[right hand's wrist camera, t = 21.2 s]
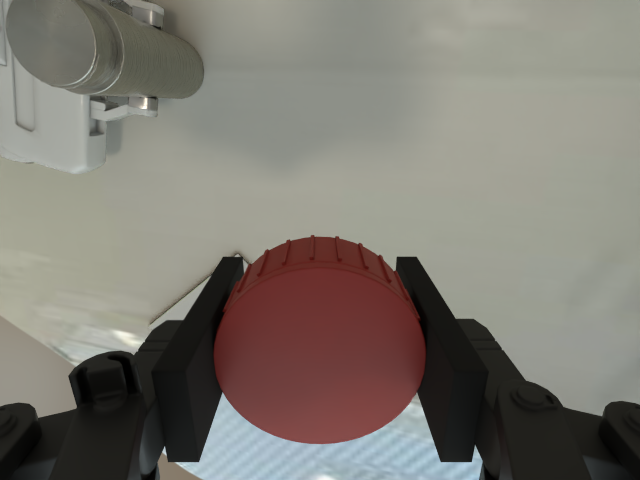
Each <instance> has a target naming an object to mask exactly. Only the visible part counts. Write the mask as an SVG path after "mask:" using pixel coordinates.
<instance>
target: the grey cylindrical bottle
mask: <svg viewBox="0 0 640 480" xmlns="http://www.w3.org/2000/svg"><path fill="white" fill-rule="evenodd" d="M6 34H7V39H8V42H9V45H10V48H11V50H12V52H13V54H14V55H15V57H16V58H17V60H18V61H19V63H20V64H21V65H22V66H23V67H24V68H25V69H26V70H27V71H28V72H29V73H30V74H31V75H33V76H34V77H36V78H37V79H39V80H40V81H41V82H44V83H46V84H48V85H50V86H52V87H57V88H62V89H65V90H67V91H70V92H72V93H76V94H81V95H97V96H123V97H150V98H175V99H182V98H187V97H189V96H191V95H193V94H194V93H195V92H196V91H197V90H198V89H199V87H200V86H201V84H202V81H203V76H204V69H203V63H202V60H201V58H200V56H199V54H198V52H197V51H196V50H195V48H194V47H193V46H191V45H190V44H189V43H187V42H186V41H184V40H182V39H180V38H178V37H175V36H173V35H171V34H169V33H167V32H165V31H163V30H161V29H159V28H156V27H154V26H152V25H150V24H148V23H146V22H144V21H142V20H139V19H137V18H135V17H133V16H131V15H129V14H127V13H125V12H123V11H120V10H118V9H116V8H114V7H112V6H110V5H108V4H106V3H103V2H101V1H99V0H13V1H12V2H11V4H10V6H9V8H8V11H7V15H6Z"/></svg>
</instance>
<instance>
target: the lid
mask: <svg viewBox="0 0 640 480" xmlns="http://www.w3.org/2000/svg"><path fill="white" fill-rule="evenodd" d="M223 312H225V313H224V315H223V317H222V320H221V322H220V324H219V326H218V328H217V334H216V338H215V341H214V350H213V356H214V365H215V372H216V377H217V380H218V382H219V385H220V388H221V390H222V391H223V393H224V395H225V397H226V398H227V400H228V401H229V402H230V404H231V405H232V406H233V407H234V409H235V410H236V411H237V412H238V413H239V414H240V415H241V416H243V417H244V418H245V419H246V420H248V421H249V422H250V423H251V424H253V425H255V426H256V427H258V428H260V429H261V430H263V431H265V432H267V433H270V434H272V435H274V436H277V437H280V438H283V439H286V440H291V441H295V442H301V443H309V444H330V443H339V442H345V441H349V440H353V439H357V438H360V437H363V436H365V435H368V434H370V433H372V432H374V431H376V430H378V429H380V428H382V427H383V426H385V425H386V424H388V423H389V422H391V421H392V420H393V419H395V418H396V417H397V416H398V415H399V414H400V413H401V412H402V411H403V410H404V409H405V408H406V407H407V406H408V405H409V403H410V402H411V400H412V399H413V397H414V396H415V395H416V393H417V391H418V389H419V387H420V385H421V382H422V379H423V376H424V370H425V362H426V344H425V338H424V335H423V332H422V329H421V326H420V324H419V321H421V319H420V317H419V315H418V313H417V310H416V308H415V306H414V304H413V302H412V300H411V298H410V295H409V293H408V291H407V289H405V288H404V285H403V283H402V281H401V279H400V277H399V275H398V272H397V271H396V270H395V271H393V270H392V269H391V268H390V266H389V265H388V264H387V263H386V262H385V261H384V260H383V257H382V256H381V255H379V256H378V255H376V254H375V253H373V252H372V251H370V250H368V249H367V248H365V247H363V245H362V244H361V243H359V244H356V243H353V242H350V241H347V240H343V239H339V237H338V236H336V237H335V238H332V237H314V235H311V237H309V238H302V239H297V240H292V241H290V239H289V240H287V241H286V243H284V244H281V245H279V246H277V247H275V248H273V249H271V250H268V249H267V250H266V251H265V253H264V255H262V256H261V257H259V258H258V259H257V260H256V261H255V262H254V263H253V264H252V265H251V264H249V265H248V266H247V268H246V271H245V273H244V275H243V277H242V278H241V280H240V281H239V282H238V281H237V282H236V284H235V286H234V288H233V290H232V292H231V294H230V297H229V299H228V301H227V303H226V305H225V307H224V309H223Z"/></svg>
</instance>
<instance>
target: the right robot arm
mask: <svg viewBox="0 0 640 480" xmlns="http://www.w3.org/2000/svg"><path fill="white" fill-rule="evenodd" d="M396 271H397V272H398V275H399V277H400V279H401V281H402V283H403V285H404V288H405V289H407V291H408V293H409V295H410V298H411V300H412V302H413V304H414V306H415V308H416V310H417V313H418V315H419V317H420V319H421V321H419V324H420V326H421V329H422V332H423V335H424V338H425V344H426V362H425V370H424V376H423V379H422V382H421V385H420V387H419V389H418V391H417V393H418V396H419V399H420V402H421V405H422V408H423V411H424V414H425V417H426V420H427V422H428V425H429V428H430V431H431V434H432V437H433V440H434V443H435V446H436V449H437V452H438V455H439V458H440V461H441V462H472V458H473V452H474V447H475V445H476V447H477V450H478V452H479V454H480V456H481V458H482V460H483V463H482V468H481V473H480V478H479V480H640V405H639V404H636V403H630V402H624V401H617V402H611V403H610V404H608V405H607V406H606V407H605V409H604V412H603V415H602V416H598V415H593V414H589V413H585V412H580V411H576V410H572V409H568V408H565V407H563V406H562V404H561V403H560V401H559V400H558V398H557V397H556V396H555V395H553V394H552V393H551V392H550V391H549V390H547V389H545V388H543V387H541V386H540V385H538V384H535V383H532V382H529V381H526V380H525V379H524V377H523V376H522V375H521V373H520V372H519V371H518V369H517V368H516V367H515V365H514V364H513V363H512V361H511V360H510V359H509V357H508V356H507V355H506V353H505V352H504V351H503V350H502V348H501V347H500V345H499V344H498V343H497V341H495V338H494V337H493V336H492V334H491V333H490V332H489V330H488V329H487V328H486V327H484V326H483V325H481V324H480V323H479V322H477V321H476V320H474V319H455V317H454V315H453V314H452V312H451V311H450V309H449V307H448V306H447V304H446V303H445V301H444V300H443V298H442V296H441V295H440V293H439V292H438V290H437V288H436V287H435V285H434V284H433V282H432V281H431V279H430V277H429V276H428V274H427V273H426V271H425V269H424V268H423V266H422V265H421V263H420V262H419V260H418V258H417V257H397V262H396ZM243 275H244V265H243V257H223V258H222V260H221V261H220V263H219V264H218V266H217V267H216V269H215V271H214V272H213V274H212V275H211V277H210V279H209V280H208V282H207V283H206V285H205V286H204V288H203V290H202V291H201V293H200V294H199V296H198V298H197V299H196V301H195V302H194V304H193V305H192V307H191V309H190V310H189V312H188V313H187V315H186V317H185V318H184V320H166V321H164V322H163V323H162V324H160V325H159V326H157V327H156V328H154V329H153V330H152V332H151V333H150V334H149V336H148V337H147V338H146V340H145V342H143V344H142V345H141V346H140V348H139V349H138V352H136V353H135V355H133V354H131V353H129V352H124V351H111V352H106V353H102V354H99V355H96V356H94V357H91V358H89V359H87V360H85V361H83V362H82V363H81V364H79V365H78V366H77V367H75V368H74V369H73V371H72V372H71V373H70V375H69V380H70V383H71V387H72V391H73V394H74V397H75V401H76V405H77V408H76V409H74V410H70V411H67V412H62V413H58V414H54V415H49V416H45V417H40V418H38V416H37V413H36V410H35V408H34V407H32V406H31V405H30V404H26V403H14V404H8V405H4V406H1V407H0V480H160V474H159V468H158V463H157V462H158V460H159V457H160V455H161V453H162V451H163V449H164V446H165V448H166V454H167V459H168V462H199V460H200V457H201V454H202V451H203V448H204V446H205V443H206V440H207V437H208V434H209V431H210V428H211V425H212V422H213V419H214V416H215V413H216V410H217V407H218V404H219V401H220V398H221V395H222V392H223V391H222V390H221V388H220V385H219V382H218V380H217V377H216V372H215V365H214V356H213V350H214V341H215V338H216V334H217V328H218V326H219V324H220V322H221V320H222V317H223V315H224V313H225V312H223V309H224V307H225V305H226V303H227V301H228V299H229V297H230V294H231V292H232V290H233V288H234V286H235V284H236V282H237V281H238V282H239V281H240V280H241V278H242V277H243Z"/></svg>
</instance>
